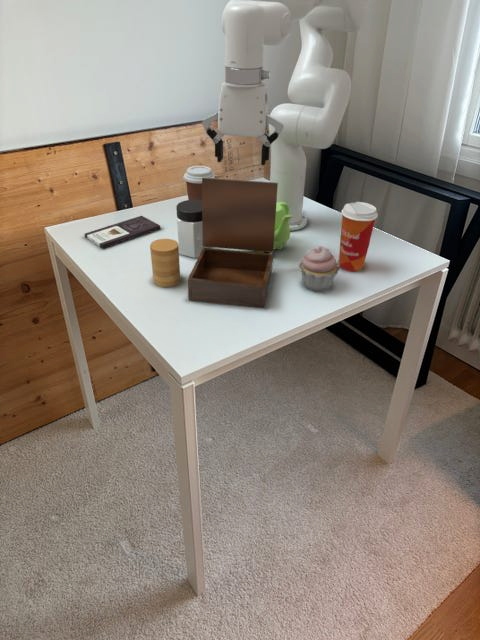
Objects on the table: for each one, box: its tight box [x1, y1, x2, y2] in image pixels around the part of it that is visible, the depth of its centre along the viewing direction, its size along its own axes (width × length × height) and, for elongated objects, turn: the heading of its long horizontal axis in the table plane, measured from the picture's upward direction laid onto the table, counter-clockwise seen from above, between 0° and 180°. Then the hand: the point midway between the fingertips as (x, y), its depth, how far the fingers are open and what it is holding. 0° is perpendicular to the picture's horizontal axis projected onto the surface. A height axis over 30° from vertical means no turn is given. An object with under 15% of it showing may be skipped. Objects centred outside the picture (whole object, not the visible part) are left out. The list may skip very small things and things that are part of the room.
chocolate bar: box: [84, 215, 161, 249], centre depth 137 cm, size 9×1×18 cm
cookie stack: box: [149, 238, 181, 288], centre depth 114 cm, size 6×6×9 cm
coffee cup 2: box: [338, 201, 379, 272], centre depth 120 cm, size 8×8×15 cm
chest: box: [187, 247, 274, 309], centre depth 114 cm, size 15×17×5 cm
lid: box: [202, 177, 278, 253], centre depth 116 cm, size 16×17×5 cm
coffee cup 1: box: [182, 165, 216, 200], centre depth 148 cm, size 9×9×12 cm
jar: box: [175, 199, 211, 259], centre depth 126 cm, size 9×8×12 cm
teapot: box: [253, 202, 293, 253], centre depth 129 cm, size 16×14×13 cm
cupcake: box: [297, 245, 341, 292], centre depth 113 cm, size 9×9×10 cm
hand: (241, 161), depth 111 cm, fingers open, 9 cm apart
